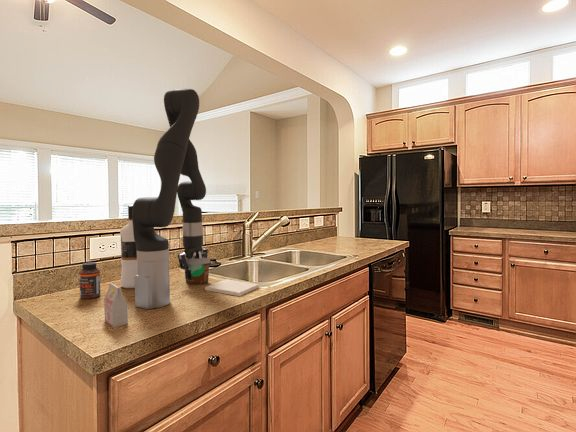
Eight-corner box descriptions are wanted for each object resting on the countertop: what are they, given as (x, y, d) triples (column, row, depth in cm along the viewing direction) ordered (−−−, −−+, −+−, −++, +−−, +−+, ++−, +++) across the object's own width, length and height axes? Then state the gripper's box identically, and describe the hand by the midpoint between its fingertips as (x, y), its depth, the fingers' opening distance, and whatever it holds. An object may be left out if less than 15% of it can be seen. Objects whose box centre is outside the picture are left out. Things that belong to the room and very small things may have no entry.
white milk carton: (119, 317, 95) (118, 281, 94) (127, 323, 90) (126, 286, 89) (104, 320, 92) (103, 284, 92) (113, 327, 87) (111, 289, 87)
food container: (175, 283, 130) (174, 257, 130) (187, 279, 136) (186, 254, 135) (199, 287, 124) (199, 260, 124) (211, 283, 130) (210, 257, 129)
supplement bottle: (77, 300, 110) (75, 265, 109) (83, 294, 115) (81, 261, 114) (97, 298, 111) (96, 264, 110) (102, 293, 117) (101, 261, 116)
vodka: (147, 287, 124) (144, 205, 122) (119, 290, 121) (115, 206, 119) (148, 281, 133) (145, 204, 131) (122, 283, 130) (119, 205, 127)
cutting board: (239, 296, 114) (239, 292, 113) (205, 290, 121) (205, 286, 121) (259, 287, 124) (259, 284, 124) (226, 282, 131) (226, 279, 131)
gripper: (186, 237, 121) (187, 283, 122) (213, 232, 134) (214, 274, 135) (171, 235, 125) (172, 281, 126) (198, 231, 137) (199, 272, 139)
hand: (194, 277), depth 130 cm, fingers closed on food container, 5 cm apart
